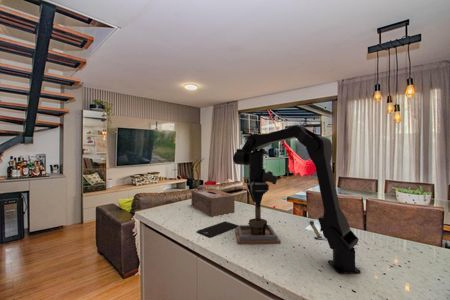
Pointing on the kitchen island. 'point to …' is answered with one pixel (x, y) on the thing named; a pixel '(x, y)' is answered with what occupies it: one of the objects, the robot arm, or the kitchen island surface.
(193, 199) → the tissue box cover
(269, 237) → the locating frame
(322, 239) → the claw hammer
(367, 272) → the kitchen island surface
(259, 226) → the industrial component
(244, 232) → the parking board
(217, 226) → the cell phone
